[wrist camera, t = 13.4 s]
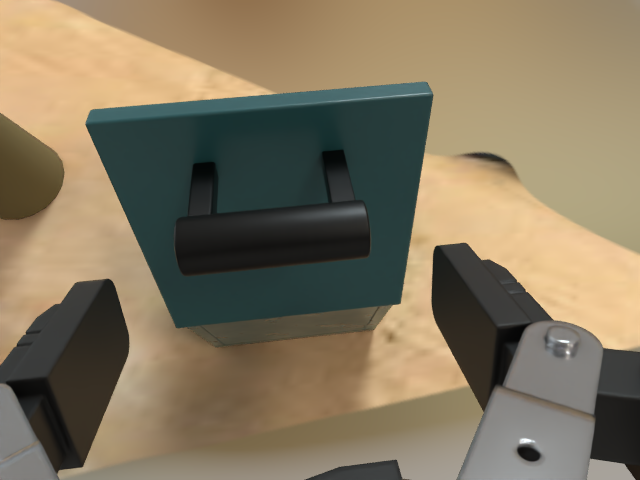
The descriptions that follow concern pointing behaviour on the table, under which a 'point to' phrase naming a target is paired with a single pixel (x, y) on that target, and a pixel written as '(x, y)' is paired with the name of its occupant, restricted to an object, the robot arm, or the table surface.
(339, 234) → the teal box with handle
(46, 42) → the table surface
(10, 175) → the olive pepper mill
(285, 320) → the teal square box
